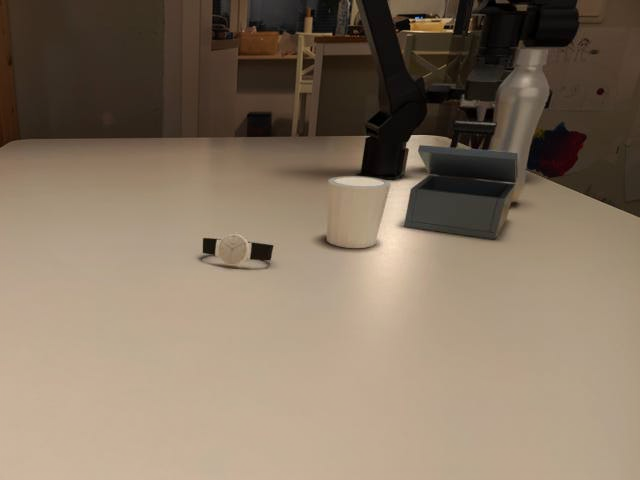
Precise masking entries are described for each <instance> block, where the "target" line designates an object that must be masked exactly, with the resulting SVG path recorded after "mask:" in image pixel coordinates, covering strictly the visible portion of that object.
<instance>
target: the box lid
mask: <svg viewBox="0 0 640 480" xmlns="http://www.w3.org/2000/svg"><path fill="white" fill-rule="evenodd" d="M496 129H497V122H485V121H482V120H480V121H468V120H467V119H455V120H454V124H453V128H452V137H451V141H450V144H449V146H439V145H438V146H437V145H425V144H424V145H423V144H419V146H418V149H417V153H418V154H419V157H420V159H421V161H422V162H423V165H424V167H425V169H426V171H427V173H428V175H434V176H439V175H441V176H451V177H461V178H471V179H481V180H490V181H500V182H510V183H516V181H517V178H518V167H517V153H515V152H502V151H490V150H489V147H490V144H491V140H492V137H493V136H494V135H495V132H496ZM470 134H474V135H485V138H484V140H483V142H482V146H481V149H479V150H477V149H471V148H464V147H458V145H459V141H460V139H461V135H470Z"/></svg>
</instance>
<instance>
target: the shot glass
mask: <svg viewBox="0 0 640 480" xmlns="http://www.w3.org/2000/svg"><path fill="white" fill-rule="evenodd" d="M327 182H328V183H327V184H328V185H327V186H328V188H327V214H326V215H327V217H326V242H327V243H329V244H330V245H333V246H336V247H341V248H348V249H351V248H352V249H366V248H370V247H373V246H374V245H376V242H377V238H378V235H379V231H380V226H381V224H382V223H381V222H382V219H383V215H384V211H385V208H386V203H387V200H388V196H389V192H390V189H391V182H390V181H389V180H386V179H380V178H372V177H363V176H357V175H346V176H344V175H343V176H337V177H331V178H329V179H328V181H327Z"/></svg>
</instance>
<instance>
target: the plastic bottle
mask: <svg viewBox="0 0 640 480" xmlns="http://www.w3.org/2000/svg"><path fill="white" fill-rule="evenodd" d="M548 54H549V48H521V49H520V48H518V50H517V54H516V58H515V61H514V63H513V64H514V67H515V69H514V70H513V71H512V72H511V73H510V75H509V76H508V77H507V78H506V79H505V80H504V81H503V82H502V84H501V85H500V86H499V88H498V90H497V92H496V97H495V106H494V116H493V122H497V129H496V132H495V135H494V136H493V137H492V140H491V144H490V147H489V150H490V151H502V152H515V153H517V167H518V178H517V181H516V183H513V184H516V185H515V189H514V193H513V196H512V200H511V203H515V202H516V201H517V200H518V199H519V198H520V197H521V196H522V194H523V191H524V189H525V187H526V180H527V166H528V162H529V161H528V160H529V154H530V149H531V145H532V142H533V137H534V135H535V132H536V130H537V127H538V126H537V125H538V123H539V122H540V118H541V116H542V114H543V112H544V110H545V109H544V107H545V103H546V102H547V99H548V96H549V87H550V85H549V82H548V80H547V77H546V75H545V73H544V71H543V68H544V67H543V66H546V64H547V59H548ZM476 180H481V179H476ZM483 181H490V180H483ZM493 182H500V181H493ZM503 183H510V182H503Z"/></svg>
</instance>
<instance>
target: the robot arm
mask: <svg viewBox="0 0 640 480" xmlns="http://www.w3.org/2000/svg"><path fill="white" fill-rule="evenodd" d="M505 1H506V2H496V1H495V0H483V1H482V2H481V3H480V4H479V5H478V6H476V7H475V8H474V9H472V10H471V11H470V14H471V15H472V16H484V18H483V22H482V28H481V32H480V37H479V41H478V46H477V51H476V55H475V61H474V64H473V67H472V68H471V70H470V72H469V74H468V76H467V78H466V81H465V88H457V83H439V82H438V83H437V82H436V83H435V82H434V83H432V84H429V85H428V86H427V87H425V85H426V84H425V79H424V76H419V75H413V74H410V73H409V71H408V69H407V67H406V62H405V59H404V56H403V52H402V48H401V45H400V41H399V37H398V33H397V31H396V27H395V23H394V19H393V15H392V13H391V9H390V4H389V2H388V0H355V4H356V7H357V10H358V14H359V17H360V20H361V23H362V27H363V30H364V34H365V38H366V40H367V43H368V47H369V50H370V54H371V57H372V61H373V64H374V68H375V72H376V75H377V78H378V85H377V86H378V87H377V88H378V89H377V100H378V101H377V102H378V110H377V112H375V113H374V114H373V115H372V116H370V117H369V119H368V120H367V121H365V122H364V124H363V126H364V129H365V134H366V136H368V137H365V140H364V147H363V153H362V160H361V167H360V171H359V172H357V174H356V176H363V177H372V178H377V179H382V180H388V181H389V180H390V181H395V180H397V179H399V178H401V177H402V176H403V175H404V174H405V173H406V169H407V163H408V157H409V152H410V149H409V148H408V147H407V143H408V142H409V141H410V139H411V138H412V136H413V133H414V132H415V130H416V129H417V128H419V127H420V126H421V124H422V123H424V120H425V119H426V117H427V116H428V105H427V104H438V105H439V104H443V103H444V102H449V101H459V106H457V110H458V111H463V113H464V116H465V118H466V120H468V121H481V118H482V110H483V104H480V103H481V102H486V103H489V104H490V106H489V107H487V108H486V109H485V113H484V117H483V121H485V122H493V116H494V106H495V97H496V92H497V90H498V88H499V86H500V85H501V84H502V82H503V81H504V80H505V79H506V78H507V77H508V76H509V75H510V73H511V72H512V71H513V70H514V69H515V64H513V63H514V61H515V58H516V54H517V51H518V49H519V46H520V41H521V42H522V44H523V46H524V47H525V49H564V48H567V47H568V46H569V45H571V44H572V42H573V41H574V39H575V37H576V35H577V34H578V30H579V28H580V14H579V9H578V8H577V4H578V1H579V0H505ZM517 7H519V8H520V7H521V8H523V7H526V9H525V10H518V8H517ZM555 92H556V91H555V90H554V88H553V87H552V86H549V96H548V99H547V102H546V103H545V107H544V109H543V110H545V109H550V108H551V106H552V103H553V100H554V96H555ZM469 139H470V149H477V150H478V149H479V148H480V147H481V145H482V144H483V142H484V139H485V135H474V134H469Z"/></svg>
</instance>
